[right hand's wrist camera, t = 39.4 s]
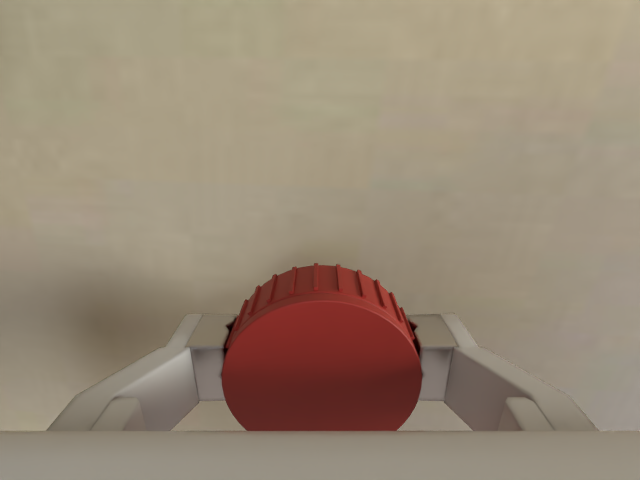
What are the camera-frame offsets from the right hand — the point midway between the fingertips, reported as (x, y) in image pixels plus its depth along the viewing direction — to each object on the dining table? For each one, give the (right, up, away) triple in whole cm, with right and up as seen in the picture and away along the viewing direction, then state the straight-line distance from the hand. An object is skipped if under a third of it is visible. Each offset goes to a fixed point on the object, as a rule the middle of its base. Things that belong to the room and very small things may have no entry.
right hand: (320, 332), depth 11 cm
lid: (0, -1, -2) cm, 2 cm away
